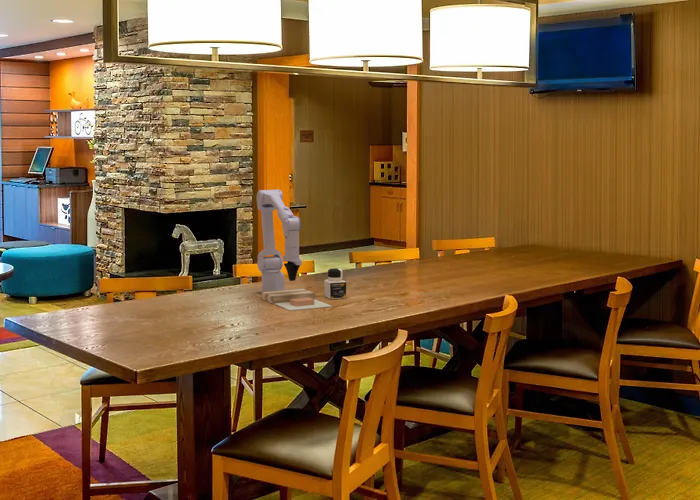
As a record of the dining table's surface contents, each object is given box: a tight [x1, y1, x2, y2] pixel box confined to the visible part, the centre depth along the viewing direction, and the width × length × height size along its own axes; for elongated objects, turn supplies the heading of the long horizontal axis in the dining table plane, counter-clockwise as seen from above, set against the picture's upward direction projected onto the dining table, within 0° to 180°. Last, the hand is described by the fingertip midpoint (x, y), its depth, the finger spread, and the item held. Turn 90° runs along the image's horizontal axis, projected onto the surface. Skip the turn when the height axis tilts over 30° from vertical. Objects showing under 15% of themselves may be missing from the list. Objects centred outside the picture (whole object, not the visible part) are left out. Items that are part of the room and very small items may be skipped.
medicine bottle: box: [323, 267, 347, 300], centre depth 375 cm, size 7×7×12 cm
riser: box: [260, 287, 316, 305], centre depth 371 cm, size 14×18×3 cm
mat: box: [273, 299, 333, 312], centre depth 358 cm, size 16×18×1 cm
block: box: [290, 297, 314, 306], centre depth 358 cm, size 6×8×2 cm
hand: (292, 280), depth 366 cm, fingers closed
